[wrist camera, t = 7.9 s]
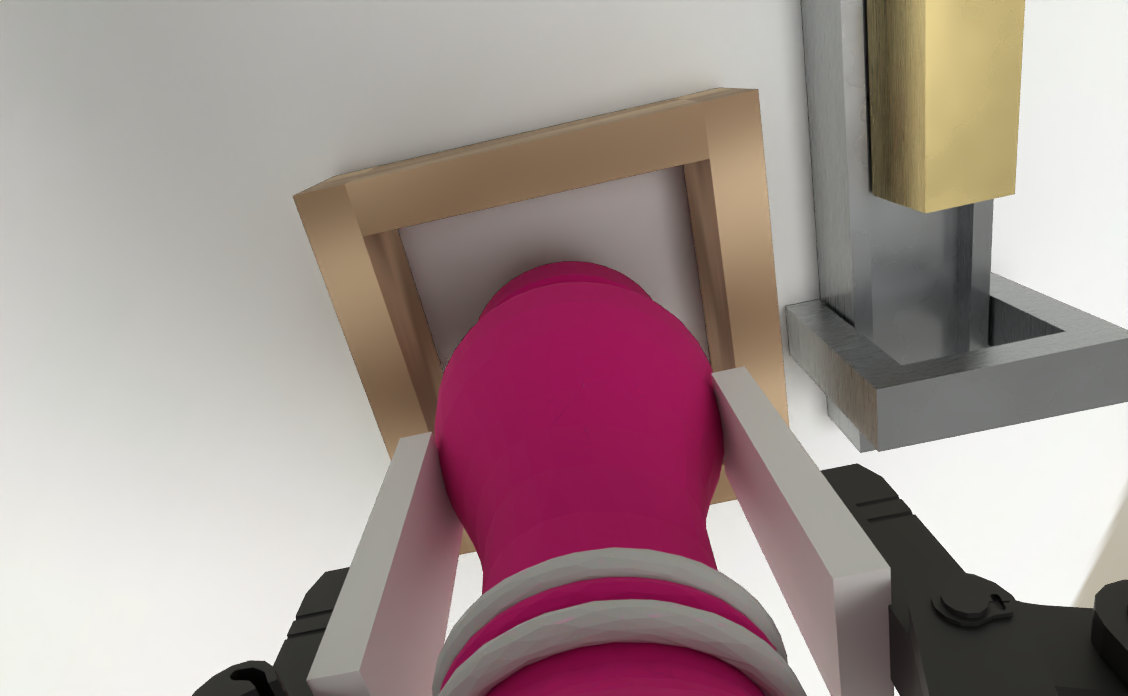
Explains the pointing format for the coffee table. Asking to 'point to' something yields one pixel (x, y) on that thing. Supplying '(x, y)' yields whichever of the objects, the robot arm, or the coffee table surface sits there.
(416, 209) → the cradle
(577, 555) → the pepper mill
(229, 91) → the coffee table surface
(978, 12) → the pin
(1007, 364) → the rail
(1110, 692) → the robot arm
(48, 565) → the coffee table surface
